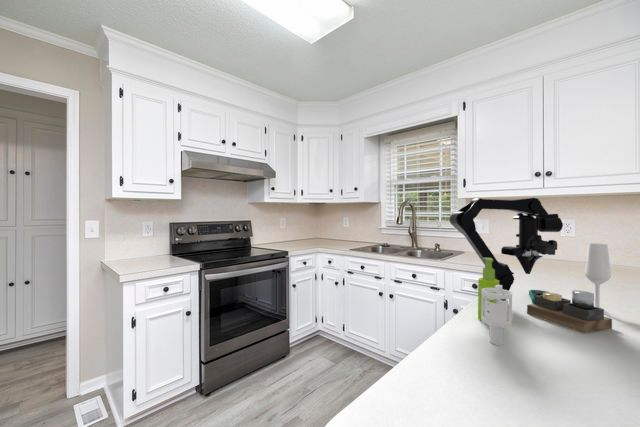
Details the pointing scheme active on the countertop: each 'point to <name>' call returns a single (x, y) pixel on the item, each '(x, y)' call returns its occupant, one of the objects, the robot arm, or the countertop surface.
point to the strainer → (496, 312)
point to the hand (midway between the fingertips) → (527, 273)
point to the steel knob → (583, 299)
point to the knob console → (570, 315)
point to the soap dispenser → (486, 282)
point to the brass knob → (552, 296)
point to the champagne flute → (598, 268)
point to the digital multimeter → (535, 294)
